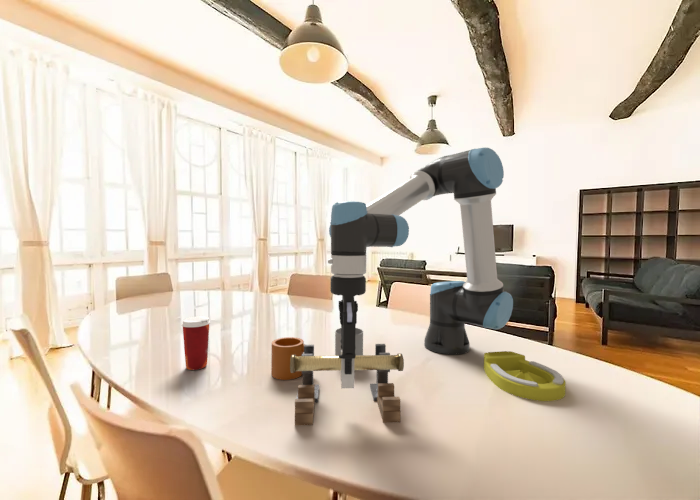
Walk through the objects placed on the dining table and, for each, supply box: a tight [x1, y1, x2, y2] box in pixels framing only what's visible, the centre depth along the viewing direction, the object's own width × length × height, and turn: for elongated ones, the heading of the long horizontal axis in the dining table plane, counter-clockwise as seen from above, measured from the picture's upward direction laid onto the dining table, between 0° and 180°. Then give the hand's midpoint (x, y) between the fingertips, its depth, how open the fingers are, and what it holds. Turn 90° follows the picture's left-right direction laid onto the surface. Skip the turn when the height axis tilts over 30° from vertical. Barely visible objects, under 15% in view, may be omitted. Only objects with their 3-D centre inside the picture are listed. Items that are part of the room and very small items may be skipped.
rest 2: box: [376, 382, 401, 424], centre depth 69 cm, size 4×8×5 cm, turn 3°
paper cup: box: [181, 315, 211, 371], centre depth 94 cm, size 8×8×14 cm
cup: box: [334, 327, 364, 356], centre depth 96 cm, size 8×8×10 cm
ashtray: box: [483, 350, 567, 402], centre depth 85 cm, size 16×21×5 cm
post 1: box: [295, 344, 320, 403], centre depth 77 cm, size 5×7×11 cm
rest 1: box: [294, 384, 316, 427], centre depth 68 cm, size 4×8×5 cm, turn 3°
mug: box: [270, 336, 306, 381], centre depth 89 cm, size 9×12×9 cm
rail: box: [290, 353, 405, 373], centre depth 69 cm, size 24×4×4 cm, turn 93°
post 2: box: [369, 343, 396, 402], centre depth 78 cm, size 5×7×11 cm
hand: (347, 383), depth 69 cm, fingers closed on rail, 3 cm apart
